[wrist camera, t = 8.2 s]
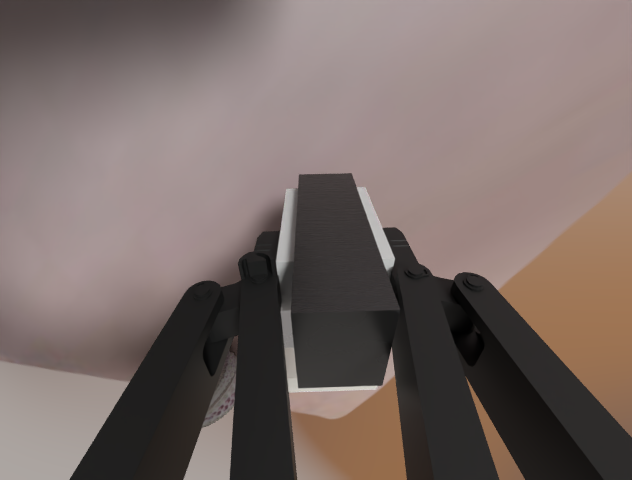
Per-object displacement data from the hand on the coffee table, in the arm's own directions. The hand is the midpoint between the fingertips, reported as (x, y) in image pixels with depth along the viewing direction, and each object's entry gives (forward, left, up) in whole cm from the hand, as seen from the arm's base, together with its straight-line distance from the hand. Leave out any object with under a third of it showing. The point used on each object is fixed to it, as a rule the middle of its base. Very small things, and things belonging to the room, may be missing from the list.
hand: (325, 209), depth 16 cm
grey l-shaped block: (0, -5, -1) cm, 6 cm away
